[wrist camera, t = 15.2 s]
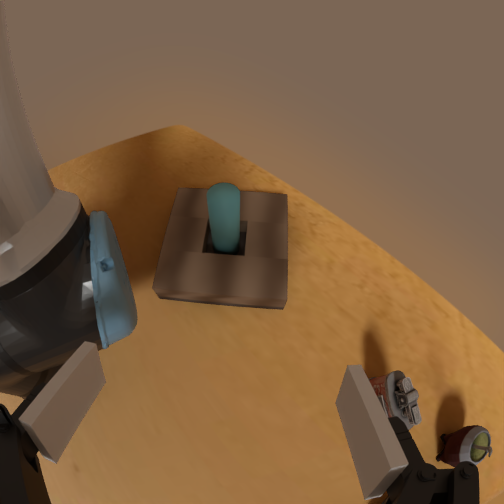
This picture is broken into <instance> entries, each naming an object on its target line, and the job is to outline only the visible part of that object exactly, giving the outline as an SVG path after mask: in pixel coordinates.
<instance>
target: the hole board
mask: <svg viewBox="0 0 504 504" xmlns="http://www.w3.org/2000/svg"><path fill="white" fill-rule="evenodd" d="M208 190H209V189H200V188H178V191H177V194H176V198H175V201H174V204H173V208H172V211H171V215H170V218H169V222H168V226H167V229H166V233H165V237H164V241H163V245H162V248H161V252H160V256H159V261H158V265H157V269H156V273H155V278H154V282H153V286H152V288H153V290H154V291H155V293H156V294H157V295H158V297H159V298H160V299H168V300H177V301H186V302H195V303H205V304H216V305H227V306H239V307H252V308H266V309H282V310H283V308H284V306H285V304H286V301H287V282H288V205H287V194H276V193H264V192H251V191H240V247H239V252H238V253H237V255H226V254H215V252H214V249H213V242H212V235H211V228H210V220H209V212H208V204H207V192H208Z"/></svg>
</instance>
